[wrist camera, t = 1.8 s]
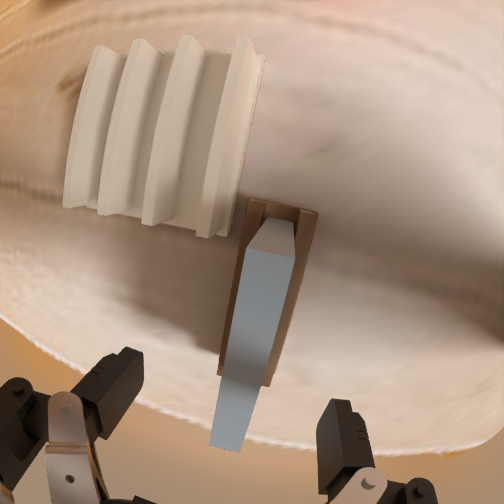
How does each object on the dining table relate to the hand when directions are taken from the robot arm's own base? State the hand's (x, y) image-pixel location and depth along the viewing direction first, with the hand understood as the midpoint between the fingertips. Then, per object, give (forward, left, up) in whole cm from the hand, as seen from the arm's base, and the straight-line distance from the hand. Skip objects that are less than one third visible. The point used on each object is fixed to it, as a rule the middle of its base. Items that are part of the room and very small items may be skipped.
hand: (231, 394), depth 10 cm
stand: (0, 0, -12) cm, 12 cm away
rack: (+10, -11, -12) cm, 19 cm away
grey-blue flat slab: (0, 0, -11) cm, 11 cm away
